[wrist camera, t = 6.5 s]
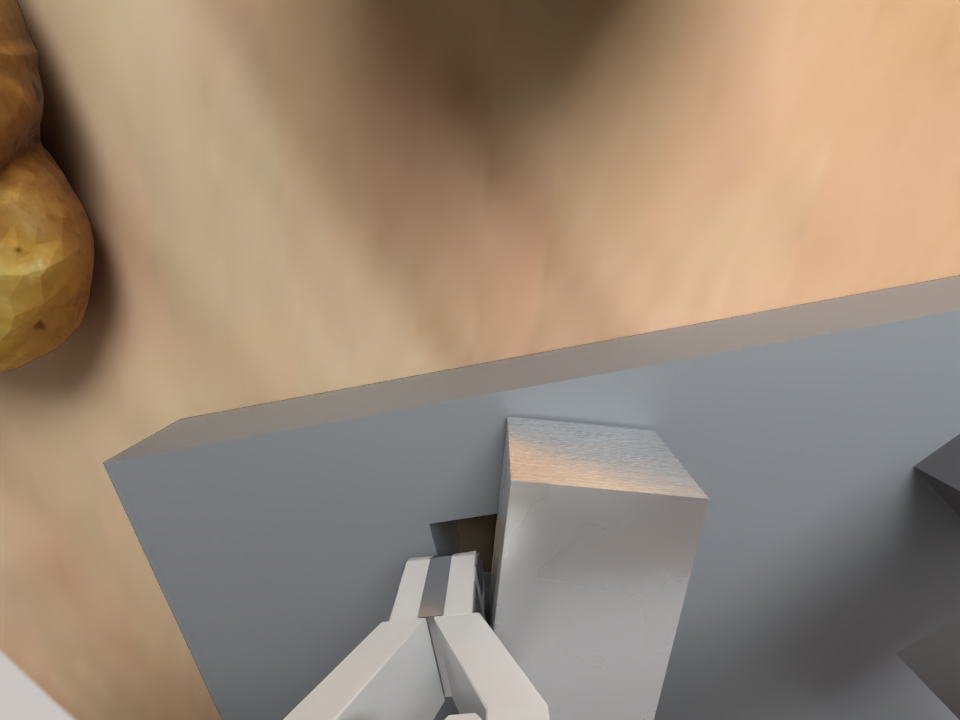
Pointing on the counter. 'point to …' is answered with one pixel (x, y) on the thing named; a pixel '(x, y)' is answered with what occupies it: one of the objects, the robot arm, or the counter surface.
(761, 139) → the counter surface
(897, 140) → the counter surface
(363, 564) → the board
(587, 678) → the link
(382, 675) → the robot arm
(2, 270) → the bread roll
